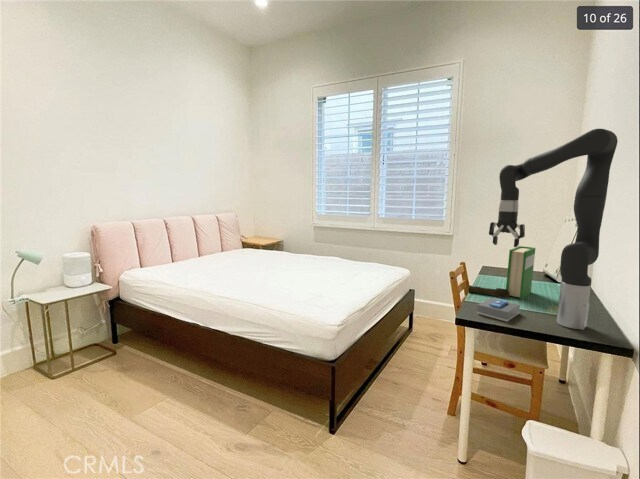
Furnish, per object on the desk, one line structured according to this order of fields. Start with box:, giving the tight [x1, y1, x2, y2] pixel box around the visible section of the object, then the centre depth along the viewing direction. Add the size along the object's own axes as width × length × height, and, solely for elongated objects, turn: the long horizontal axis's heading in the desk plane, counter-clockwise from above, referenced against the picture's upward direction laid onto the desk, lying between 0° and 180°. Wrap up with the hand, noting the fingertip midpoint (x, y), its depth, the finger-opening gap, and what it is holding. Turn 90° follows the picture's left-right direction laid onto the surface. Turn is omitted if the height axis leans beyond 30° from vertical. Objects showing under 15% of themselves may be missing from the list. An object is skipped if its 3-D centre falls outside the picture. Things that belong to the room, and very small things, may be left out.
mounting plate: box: [476, 297, 521, 322], centre depth 144 cm, size 12×14×4 cm
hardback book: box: [505, 245, 536, 300], centre depth 170 cm, size 18×7×24 cm, turn 135°
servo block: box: [490, 298, 509, 308], centre depth 144 cm, size 4×10×5 cm, turn 133°
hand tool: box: [468, 284, 510, 299], centre depth 170 cm, size 19×4×5 cm, turn 55°
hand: (505, 245), depth 152 cm, fingers open, 8 cm apart
